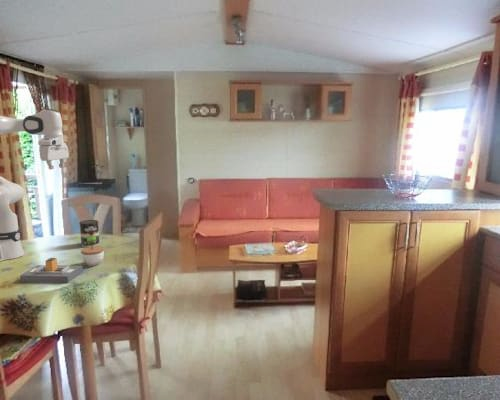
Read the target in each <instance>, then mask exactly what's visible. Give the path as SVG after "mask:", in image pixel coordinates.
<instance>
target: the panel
mask: <svg viewBox="0 0 500 400" xmlns="http://www.w3.org/2000/svg"><path fill="white" fill-rule="evenodd" d="M57 267H58V269H56V270H55V271H46V264H43V265H42V264H41V265H40V264H39V265H38V264H37V265H35V266H34V267H32V268H31V269H28V270H27V271H25V272H24V273H22V274H20V275H19V278H20V283H21V282H22V283H55V284H56V283H59V284H60V283H62V284H63V283H64V284H68V283H70V282H71V281H73V280H74V279H76V278H77V277H78V276H79V275H81V274H82V273H83V272H84V271H83V266H82V265H63V266H57Z"/></svg>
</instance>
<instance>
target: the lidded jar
mask: <svg viewBox="0 0 500 400" xmlns="http://www.w3.org/2000/svg"><path fill="white" fill-rule="evenodd" d="M104 250H105V248H104V247H103V246H99V245H97V246H91V247H84V248H82V249H81V250H80V253H81V258H82V260H83V261H82V262H84V263H85V264H86V265H87V266H90V267H93V266H99V265H100V264H101V262H102V261H103V260H104V257H105V251H104Z"/></svg>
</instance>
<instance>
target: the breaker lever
mask: <svg viewBox="0 0 500 400" xmlns="http://www.w3.org/2000/svg"><path fill="white" fill-rule="evenodd" d="M57 259H58V258H57V257H50V258H48V259H46V260H45V265H46V271H55V270H56V269H58V267H57V265H58V260H57Z"/></svg>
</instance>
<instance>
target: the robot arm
mask: <svg viewBox="0 0 500 400" xmlns="http://www.w3.org/2000/svg"><path fill="white" fill-rule="evenodd" d="M17 132H18V133H19V132H25V133H27V134H29V135H37V136H38V135H39V136H40V135H41V136H42V135H43V138H41V139H40V140H38V142H37V143H38V146H39V149H38V151H39V152H38V153H39V157H40V160H41V161H43V162H44V161H45V162H46V165H47V167H48V170H54V165H53V161H56V160H59V164H58V167H59V168H62V169H63V168H64V167H65V165H64V164H65V161H66V160H65V159H69V157H70V154H69V148H68V145H67V143H66V142H65V140H64V134H63V120H62V115H61V113H60V110H56V109H52V108H42V109H41V110H40V111H39V112H37V113H34V114H30V115H27V116H26V117H24V118H23V119H22V118H21V119H20V118H13V117H8V116H4V115H0V135H1V136H2V135H6V134H13V133H17ZM24 196H25V190H24V188H23V187H22V185H20V184H19V183H14V182H13V181H10V180H8V179H6V178H4V177H3V176H1V175H0V262H1V261H2V262H3V261H8V260H12V259H17V258H21V257H23V256H24V255H25V250H24V248H23V245H22V242H21V231H20V228H19V221H18V215H17V214H16V213H14V212H13V211H12V210H11V207H10V204H11V205H12V204H15V203H17V202H18V201H20V200H21V199H23V197H24Z"/></svg>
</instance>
